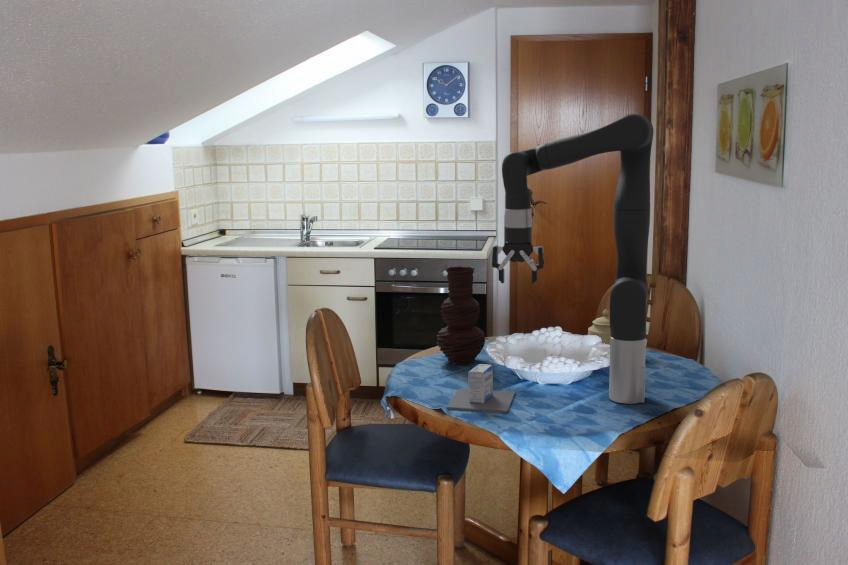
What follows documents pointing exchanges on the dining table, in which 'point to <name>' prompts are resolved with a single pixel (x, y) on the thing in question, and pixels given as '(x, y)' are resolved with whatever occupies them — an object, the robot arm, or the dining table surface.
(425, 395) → the dining table surface
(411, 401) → the dining table surface
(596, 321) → the sugar bowl
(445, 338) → the vase
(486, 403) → the charcoal mat
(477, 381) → the medicine box
